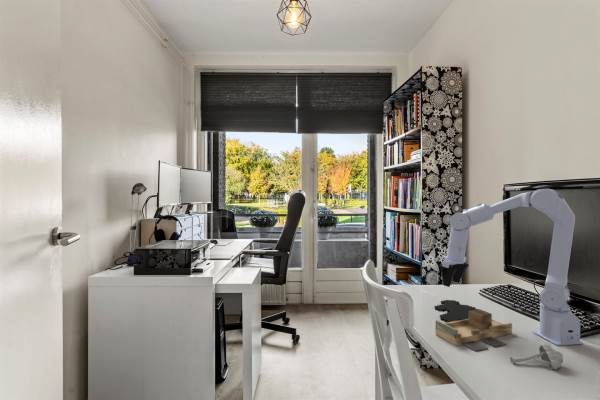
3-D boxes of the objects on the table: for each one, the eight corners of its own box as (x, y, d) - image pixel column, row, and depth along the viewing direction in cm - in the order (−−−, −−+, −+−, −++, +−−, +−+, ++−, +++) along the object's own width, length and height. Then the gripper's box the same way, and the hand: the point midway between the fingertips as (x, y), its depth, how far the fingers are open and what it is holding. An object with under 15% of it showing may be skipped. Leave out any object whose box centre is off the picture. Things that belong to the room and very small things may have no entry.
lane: (489, 323, 114) (489, 310, 114) (527, 339, 102) (528, 325, 102) (435, 334, 106) (435, 320, 106) (470, 353, 94) (470, 337, 94)
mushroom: (504, 344, 91) (553, 339, 90) (505, 358, 92) (553, 354, 91) (519, 363, 84) (572, 358, 83) (519, 378, 86) (571, 374, 84)
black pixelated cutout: (497, 335, 106) (476, 304, 134) (497, 332, 106) (476, 301, 134) (440, 330, 110) (432, 301, 139) (440, 327, 110) (432, 298, 139)
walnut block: (479, 323, 110) (479, 309, 110) (491, 328, 106) (491, 313, 106) (468, 325, 109) (468, 310, 108) (480, 330, 104) (480, 315, 104)
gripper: (454, 241, 129) (449, 276, 131) (436, 245, 120) (430, 283, 121) (474, 246, 124) (468, 283, 126) (456, 251, 114) (450, 290, 116)
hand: (451, 283), depth 123 cm, fingers open, 7 cm apart
